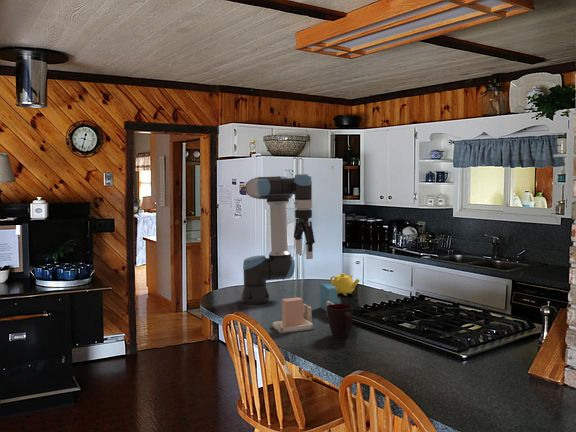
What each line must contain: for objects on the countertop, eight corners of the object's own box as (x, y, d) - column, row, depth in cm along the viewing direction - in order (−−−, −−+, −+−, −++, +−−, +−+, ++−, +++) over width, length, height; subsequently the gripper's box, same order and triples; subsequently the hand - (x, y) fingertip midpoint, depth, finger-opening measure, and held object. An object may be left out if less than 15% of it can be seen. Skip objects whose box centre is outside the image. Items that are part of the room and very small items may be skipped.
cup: (345, 330, 242) (344, 302, 241) (361, 339, 229) (361, 310, 228) (323, 333, 238) (323, 305, 237) (339, 342, 225) (338, 312, 224)
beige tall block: (282, 326, 248) (281, 299, 247) (299, 324, 251) (298, 297, 250) (286, 329, 244) (285, 301, 243) (303, 327, 246) (303, 299, 245)
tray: (272, 326, 250) (272, 322, 250) (304, 322, 255) (304, 318, 255) (280, 333, 240) (280, 328, 240) (313, 329, 245) (313, 324, 245)
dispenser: (302, 318, 262) (302, 303, 261) (328, 315, 266) (328, 301, 266) (309, 323, 254) (309, 307, 254) (336, 319, 259) (335, 304, 258)
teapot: (360, 295, 307) (360, 275, 306) (336, 297, 304) (335, 276, 303) (351, 290, 321) (351, 270, 320) (328, 291, 318) (328, 271, 317)
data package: (337, 312, 272) (337, 287, 271) (328, 313, 271) (328, 288, 270) (328, 306, 284) (328, 282, 283) (320, 307, 282) (319, 283, 281)
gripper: (286, 207, 264) (287, 252, 266) (305, 211, 240) (306, 261, 243) (301, 206, 266) (302, 251, 269) (321, 211, 243) (322, 260, 245)
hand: (304, 256), depth 256 cm, fingers open, 13 cm apart
